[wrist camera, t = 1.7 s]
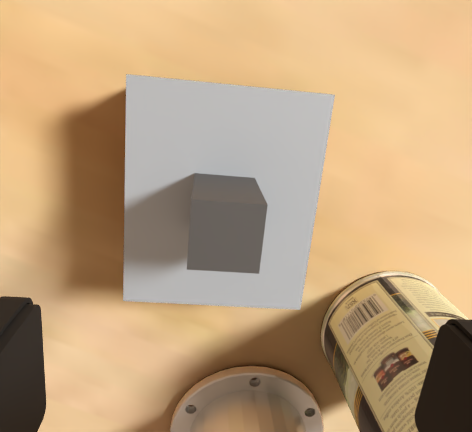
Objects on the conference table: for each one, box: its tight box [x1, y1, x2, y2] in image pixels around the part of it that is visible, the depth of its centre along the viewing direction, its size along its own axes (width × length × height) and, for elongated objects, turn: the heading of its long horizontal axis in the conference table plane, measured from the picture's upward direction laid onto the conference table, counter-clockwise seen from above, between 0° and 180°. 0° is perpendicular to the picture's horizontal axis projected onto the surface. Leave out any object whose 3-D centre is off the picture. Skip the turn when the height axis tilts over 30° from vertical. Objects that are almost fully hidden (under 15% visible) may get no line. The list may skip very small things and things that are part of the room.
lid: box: [123, 74, 335, 310], centre depth 21 cm, size 12×10×6 cm
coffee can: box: [321, 271, 469, 432], centre depth 26 cm, size 10×10×14 cm
